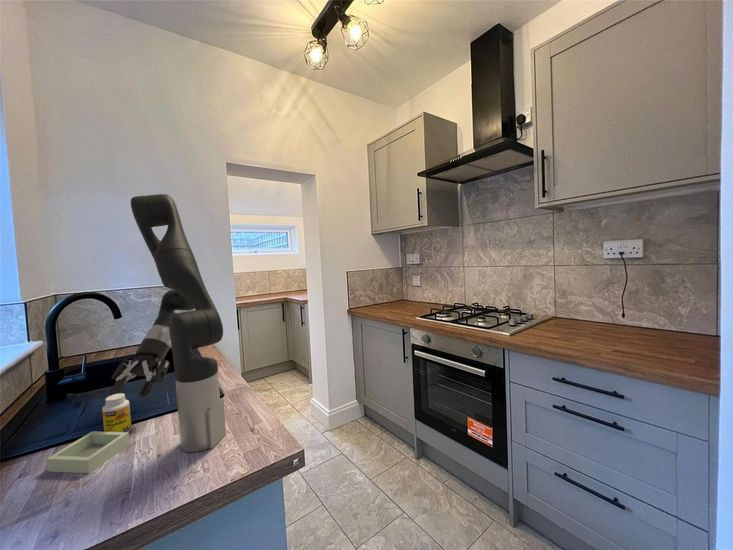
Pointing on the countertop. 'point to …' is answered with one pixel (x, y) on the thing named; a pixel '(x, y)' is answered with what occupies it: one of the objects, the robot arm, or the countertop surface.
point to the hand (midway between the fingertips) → (127, 396)
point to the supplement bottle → (116, 414)
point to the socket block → (88, 452)
